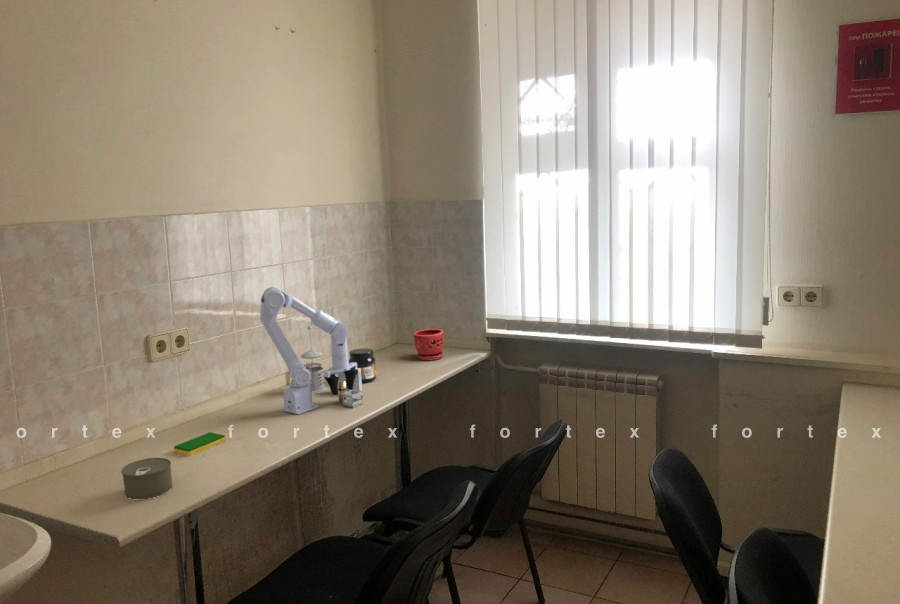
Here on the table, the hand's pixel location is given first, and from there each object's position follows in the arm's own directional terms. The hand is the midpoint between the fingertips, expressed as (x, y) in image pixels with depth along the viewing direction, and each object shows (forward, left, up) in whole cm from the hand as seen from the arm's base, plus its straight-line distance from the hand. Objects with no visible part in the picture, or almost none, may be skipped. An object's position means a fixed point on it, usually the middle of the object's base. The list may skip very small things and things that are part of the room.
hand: (342, 391), depth 263 cm
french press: (+5, +22, -4) cm, 23 cm away
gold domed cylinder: (0, 0, -4) cm, 4 cm away
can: (-82, -10, -4) cm, 82 cm away
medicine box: (+11, +8, -4) cm, 14 cm away
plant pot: (+66, +14, -4) cm, 68 cm away
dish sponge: (-55, +7, -5) cm, 55 cm away
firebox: (0, -5, -4) cm, 6 cm away
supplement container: (+25, +15, -4) cm, 30 cm away
